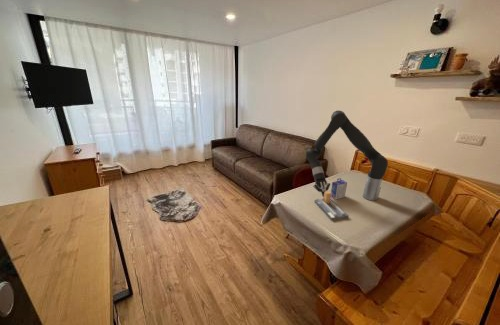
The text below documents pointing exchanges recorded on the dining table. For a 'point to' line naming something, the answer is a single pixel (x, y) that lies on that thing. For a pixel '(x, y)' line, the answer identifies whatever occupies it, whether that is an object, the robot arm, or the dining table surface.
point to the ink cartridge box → (338, 189)
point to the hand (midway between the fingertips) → (325, 197)
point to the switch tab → (327, 197)
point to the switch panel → (331, 209)
